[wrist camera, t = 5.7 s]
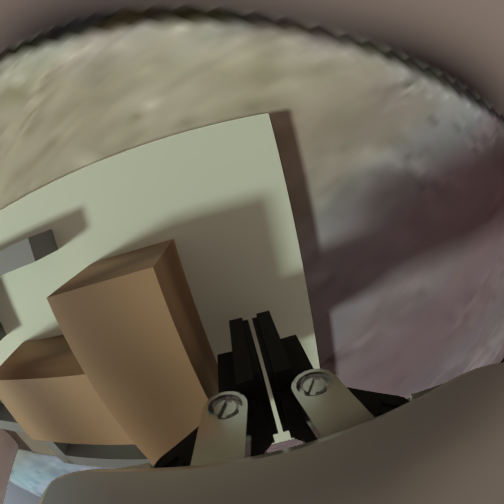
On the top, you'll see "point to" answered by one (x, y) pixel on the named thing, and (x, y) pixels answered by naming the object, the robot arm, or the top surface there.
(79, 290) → the t block
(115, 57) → the top surface
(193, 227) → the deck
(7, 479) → the smoothie
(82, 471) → the robot arm
